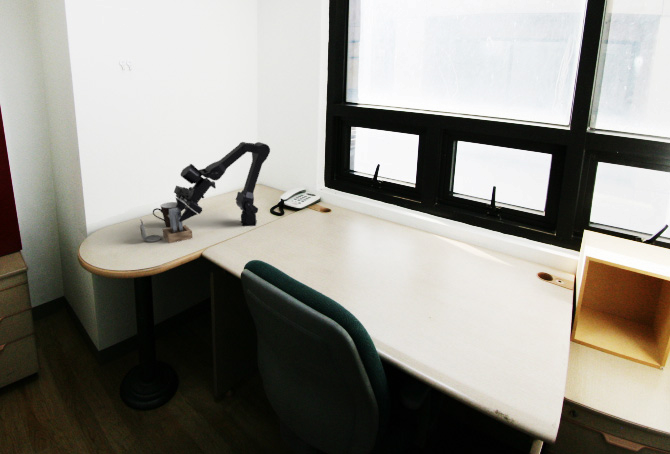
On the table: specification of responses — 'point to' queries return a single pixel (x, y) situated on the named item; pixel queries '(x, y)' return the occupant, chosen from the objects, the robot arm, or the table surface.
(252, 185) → the robot arm
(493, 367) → the table surface
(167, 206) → the coffee mug
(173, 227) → the tall gray prism
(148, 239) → the pocket watch
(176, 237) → the open wooden box
